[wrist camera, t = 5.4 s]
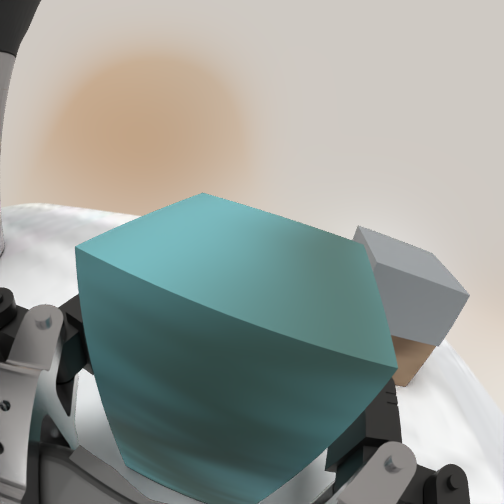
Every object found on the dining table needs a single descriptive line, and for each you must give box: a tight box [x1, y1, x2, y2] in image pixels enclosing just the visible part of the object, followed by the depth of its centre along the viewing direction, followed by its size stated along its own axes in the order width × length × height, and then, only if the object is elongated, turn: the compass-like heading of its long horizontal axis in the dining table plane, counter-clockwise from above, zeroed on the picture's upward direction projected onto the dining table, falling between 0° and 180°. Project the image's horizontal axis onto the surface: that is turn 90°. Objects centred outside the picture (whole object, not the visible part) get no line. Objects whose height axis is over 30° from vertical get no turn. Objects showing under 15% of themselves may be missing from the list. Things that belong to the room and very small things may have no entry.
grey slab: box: [352, 226, 470, 347], centre depth 17 cm, size 7×7×4 cm
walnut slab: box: [391, 335, 436, 387], centre depth 19 cm, size 7×7×4 cm
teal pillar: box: [75, 193, 398, 504], centre depth 8 cm, size 5×5×10 cm
